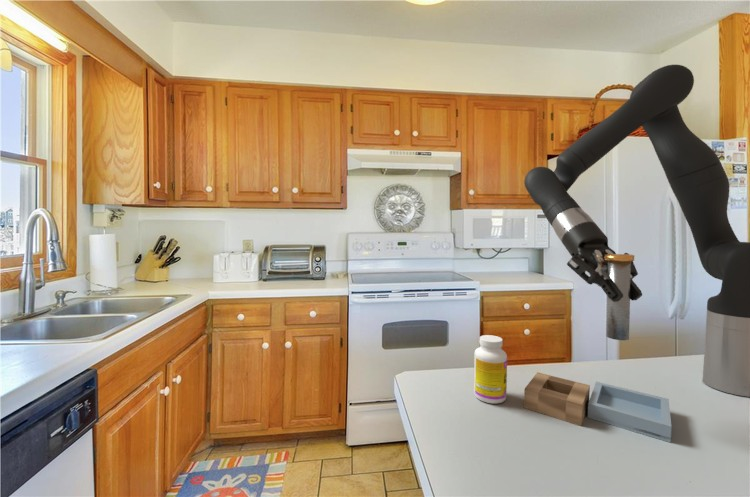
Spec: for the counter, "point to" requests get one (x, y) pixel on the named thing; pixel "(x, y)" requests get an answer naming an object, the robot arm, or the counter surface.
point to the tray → (631, 410)
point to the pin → (621, 310)
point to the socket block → (557, 398)
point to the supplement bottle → (490, 370)
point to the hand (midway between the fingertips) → (628, 298)
